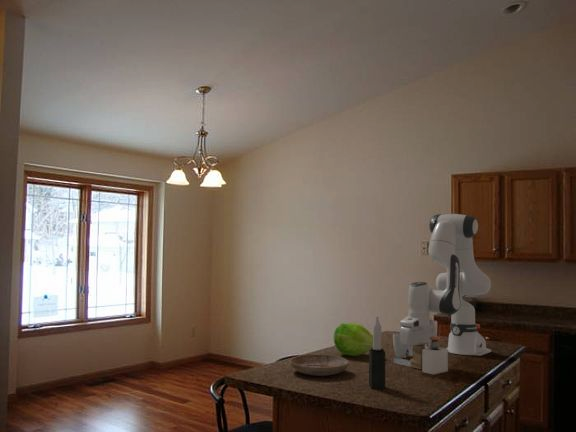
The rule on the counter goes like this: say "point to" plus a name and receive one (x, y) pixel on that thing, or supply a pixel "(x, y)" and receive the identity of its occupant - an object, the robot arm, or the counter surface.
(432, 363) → the housing
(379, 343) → the candle
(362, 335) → the lettuce
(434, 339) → the plunger
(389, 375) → the counter surface
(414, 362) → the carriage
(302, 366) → the ceramic bowl
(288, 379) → the counter surface
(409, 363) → the rail
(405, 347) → the cup
